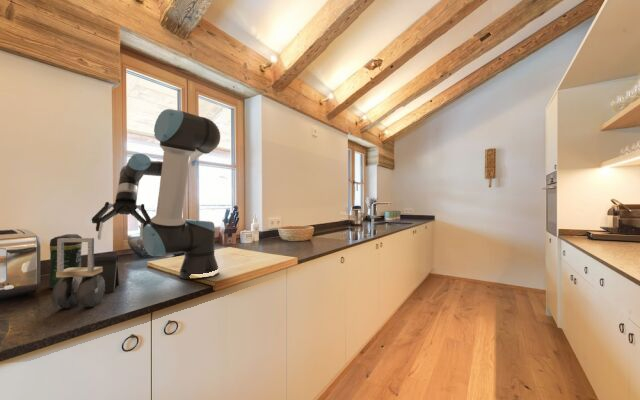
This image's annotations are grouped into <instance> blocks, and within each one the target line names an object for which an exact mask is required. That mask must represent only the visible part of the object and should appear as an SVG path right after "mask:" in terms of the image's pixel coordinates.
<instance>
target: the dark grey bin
mask: <svg viewBox="0 0 640 400" xmlns="http://www.w3.org/2000/svg"><path fill="white" fill-rule="evenodd" d="M94 267H103V272H101V273H98V274H96V275H101V276H102V277H103V278H104V281H105V291H104V294H108V293H109V294H110V293H115V292H116V290H117V289H118V288H119V287H120V285H121V278H120V268H119V267H120V266H119V255H118V254H106V255H97V256H94Z"/></svg>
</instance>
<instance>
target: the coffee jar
mask: <svg viewBox="0 0 640 400" xmlns="http://www.w3.org/2000/svg"><path fill="white" fill-rule="evenodd" d="M60 238H83V237H82V236H81V235H79V234H74V233H70V234H67V233H66V234H63V235H58V236H55V237H54V238H51V239H50V240H49V256H50V257H49V273H48V274H49V276H48V288H49V289H54V286H55V284H56V283H57V282H58V280H59V279H61V278H62V277H56V272H57V239H60ZM82 246H83V242H64V269H67V268H78V267H82Z"/></svg>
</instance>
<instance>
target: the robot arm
mask: <svg viewBox="0 0 640 400" xmlns="http://www.w3.org/2000/svg"><path fill="white" fill-rule="evenodd" d="M153 133H154V137H155V139H156V140H157V141H159V147H160V148H161V149H162V151H163V154H162V160H161V159H154V158H151V157H150V156H149V155H148V154H145V153H144V152H134V153H133V154H132V155H131V157H129V159H128V161H127V163H126V164H125V165H124V166H122V167H121V169H120V172H119V179H118V185H117V188H116V189H117V190H116V197H115V201H114V203H110V202H109V201H106V202H105V204H104V205H103V207H102V208H101V209H100V210H98V212H96V213H95V215H93V216H92V218H91V223H92V224H95V231H96V232H97V240H98V241H99V240H102V239H101V238H102V234H103V229H104V223H105V222H107V221H108V220H110V219H111V218H113V217H115V216H117V215H118V214H119V215H131V216H132V217H134V218H135V219H136V220H137V221H138V222H139V223H140V231H139V232H140V233H139V240H141V241H142V244H143V247H144V249H145V251H146V253H147V254H148V255H149V256H151V257H165V256H170V255H174V254H175V255H176V254H181V253H184V257H183V261H182V263H181V267H180V269H179V277H180V278H181V279H183V280H191V279H190V277H189V276H190V275H191V274H203V273H209V272H212V271H215V270H217V269H218V268H219V265H218V262H217V260H216V256H215V241H216V240H215V239H216V238H215V237H216V236H215V234H216V230H215V228H216V227H215V223H214V222H213V221H211V220H210V221H209V220H201V219H200V220H198V219H197V220H196V219H184V218H183V211H184V210H183V209H184V203H185V195H186V188H187V181H188V174H189V166H190V165H189V164H191V163H192V162H194V161H195V160H197V159H199V157H201V156H203V155H207V154H211V152H213V151H214V150H216V149H217V147H218V146H219V144H220V141H221V133H220V129H219V127H218V126H217V124H216V123H215V122H214V121H213V120H211V119H209V118H206V117H204V116H199V115H195V114H193V113H191V112H190V113H189V112H185V111H182V110H178V109H173V108H167V109H166V108H165V109H163V110H162V111H161V112H160V114H159V115H158V116H157V118H156V120H155V123H154V127H153ZM143 176H152V177H153V176H154V177H155V176H156V177H160V182H159V189H158V190H159V191H158V197H157V203H156V204H157V206H156V214H155V215H154V216H152V217H150V215H149V213H148V212H147V210H146V208H145V203H141V204H139V205H138V204H137V199H138V194H139V193H138V191H139V185H140V181H141V180H142V178H143ZM110 209H112V210H111V211H109V212H108V210H110ZM137 209H138V210H139V211H140V212H141V214H142V215H141V214H140V213H138V212H137Z"/></svg>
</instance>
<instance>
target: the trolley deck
mask: <svg viewBox="0 0 640 400" xmlns="http://www.w3.org/2000/svg"><path fill="white" fill-rule="evenodd" d="M101 272H103V267H95V266H94V270H93V271H88V266H86V267H83V266H81V267H78V268H67V269H64V271H62V272H56V277H82V276H94V275H96V274H98V273H101Z"/></svg>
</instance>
